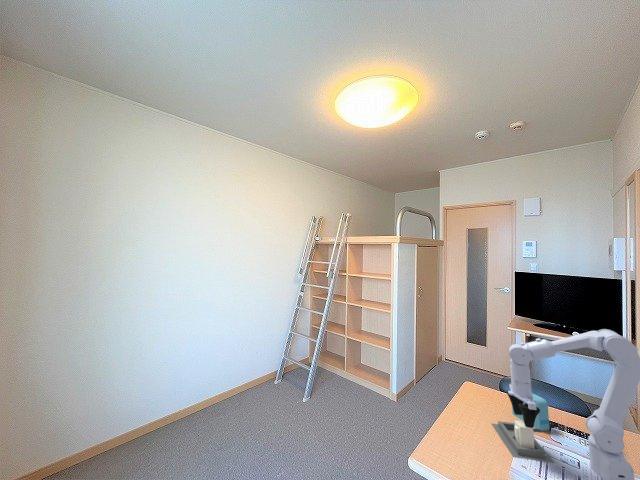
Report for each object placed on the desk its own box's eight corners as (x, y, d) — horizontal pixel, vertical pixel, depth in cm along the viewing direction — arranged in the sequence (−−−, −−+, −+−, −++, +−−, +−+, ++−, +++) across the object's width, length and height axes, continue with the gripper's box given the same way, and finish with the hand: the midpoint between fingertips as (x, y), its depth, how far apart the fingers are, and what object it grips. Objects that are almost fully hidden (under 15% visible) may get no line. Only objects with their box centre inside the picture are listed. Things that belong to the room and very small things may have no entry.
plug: (547, 455, 89) (545, 430, 90) (519, 451, 91) (517, 426, 92) (540, 447, 93) (538, 423, 94) (513, 443, 95) (512, 420, 96)
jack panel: (555, 466, 85) (554, 456, 86) (513, 460, 88) (512, 450, 89) (525, 430, 104) (524, 422, 104) (491, 425, 107) (490, 418, 107)
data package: (550, 433, 102) (547, 400, 103) (540, 434, 101) (538, 401, 102) (521, 415, 114) (519, 386, 115) (512, 416, 113) (510, 387, 114)
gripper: (499, 371, 102) (501, 408, 101) (517, 388, 88) (520, 431, 87) (520, 372, 101) (523, 410, 99) (542, 390, 87) (545, 434, 85)
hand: (523, 420), depth 93 cm, fingers open, 7 cm apart
